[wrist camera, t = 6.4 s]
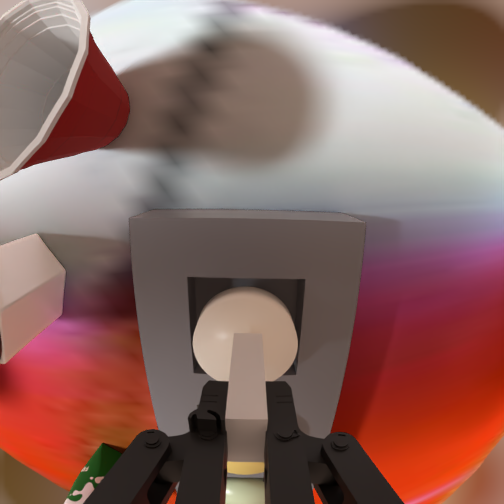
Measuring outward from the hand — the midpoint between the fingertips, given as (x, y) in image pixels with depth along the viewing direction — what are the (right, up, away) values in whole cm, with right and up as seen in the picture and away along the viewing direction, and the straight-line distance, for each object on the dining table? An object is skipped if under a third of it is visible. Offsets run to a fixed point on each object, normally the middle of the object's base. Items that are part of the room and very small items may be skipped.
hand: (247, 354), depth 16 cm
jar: (-20, +3, +7) cm, 22 cm away
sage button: (-1, -19, +8) cm, 20 cm away
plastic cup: (-12, +17, +4) cm, 21 cm away
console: (0, -8, +10) cm, 13 cm away
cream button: (0, +1, +3) cm, 3 cm away
